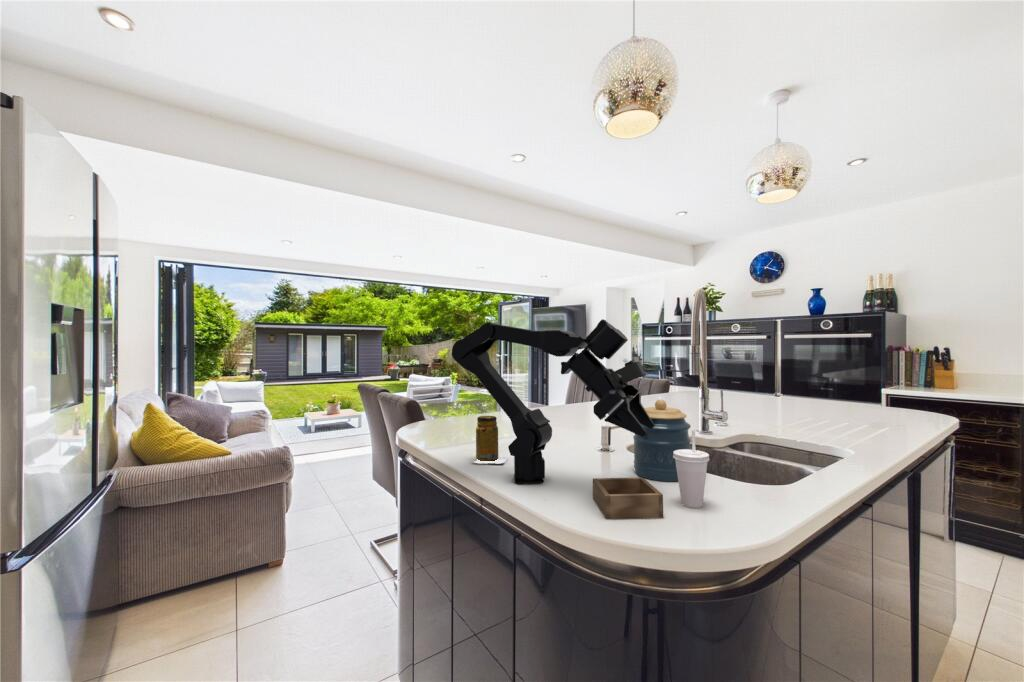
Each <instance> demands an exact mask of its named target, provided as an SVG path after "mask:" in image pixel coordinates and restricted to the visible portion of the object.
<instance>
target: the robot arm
mask: <svg viewBox="0 0 1024 682" xmlns="http://www.w3.org/2000/svg"><path fill="white" fill-rule="evenodd" d="M497 341H502V342H508V343H513V344H518V345H523V346H529V347H534V348H536V349H538V350H540V351H542V352H544V353H546V354H549V355H552V356H553V357H556V358H557V357H559V358H560V357H570V358H569V359H568V360H567V361H561V362H560V365H561V367H560V374H561V375H567V374H570V372H572V373H573V374H574V375H575V376H576V377H577V378H578V379H579V380H580V381H581V382H582V383H583V384H584V385H585V388H584V389H585V390H586V391H587V393H589V392H591V393H592V394H593V395H594V396H595V397H596V398H597V399H598V401H597V402H596V403H595V404H594V405H593V414H594V415H595V417H596V418H598V420H600V421H601V420H603V419H604V420H603V421H604V422H606V423H610V424H612V425H614V426H617V427H619V428H621V429H623V430H626V431H629V432H630V433H633V434H634V435H635V434H637V435H639V436H641V437H644V436H645V435H646V434H647V432H646V431H645V430H644V428H643V427H642V425H644V426H646V427H648V428H650V429H652V428H653V427H654V424H653V422H652V420H651V419H650V417H649V415H648V414H647V412H646V411H645V409H644V408H645V407H644V406H643V404H642V392H641V388H640V387H639V386H638V385H637V384H635V383H629V382H631V381H633V380H636V379H639V378H642V377H645V376H646V375H647V373H646V371H645V369H644V366H643V365H642V363H641V362H640V361H639V360H638V361H634V360H630V361H627V362H624V366H623V367H621V368H619V369H617V370H614V369H613V368H607V367H606V366H605V365H604V364H603V363H602V362H601V361H600V360H604V359H606V360H610V359H612V357H614V355H615V354H616V353H617V352H618V351H619V350H620V349H621V348H622V347H623V346H624V345H625V344H626V343H627V342H628V341H629V340H628V338H627V336H626V335H625V334H624V333H623V332H622V331H621V330H620V329H619V328H616V327H615V326H614V325H612V324H611V323H609V322H608V321H607V320H606V319H601V320H599V322H598V323H597V324H596V326H595V327H594V329H592V331H591V332H590V333H589V334H588V335H587V336H581V335H579V336H577V334H576V332H575V333H574V332H573V331H569V330H562V329H561V330H560V329H557V330H556V329H553V330H552V329H551V330H549V329H548V330H532V329H528V328H527V329H526V328H522V327H515V326H510V325H504V324H503V325H502V324H500V323H497V322H486V323H483V324H482V325H481V326H480V327H479V328H478V329H476V330H474V331H472V332H471V333H469V334H467V335H465V337H463V338H462V339H458V340H456V341H455V342H454V343H453V345H452V349H451V356H452V358H453V360H454V361H455V362H456V363H457V364H458V365H459V366H461V367H462V368H463V369H465V370H466V371H468V372H470V373H472V374H473V375H474V376H475V377H476V378H477V379H478V380H479V382H480V383H481V384H482V385H483V387H484V388H485V389H486V391H487V392H488V393H489V395H490V396H491V397H492V398H493V400H494V401H495V402H496V403H497V405H498V406H499V407H500V408H501V409H502V411H503V412H504V413H505V415H506V416H507V417H508V418H509V420H510V423H511V427H512V431H513V433H514V435H515V436H516V438H515V439H514V440H513V441H512V442H511V443H510V444H508V448H507V449H508V451H509V454H510V456H512V457H513V464H514V465H513V467H514V469H513V470H514V473H513V481H514V484H515V485H519V484H520V485H521V484H522V485H523V484H525V485H526V484H528V485H529V484H544V482H545V481H544V479H545V478H546V461H545V458H544V457H543V453H542V451H543V450H545V449H546V446H547V444H548V443H550V441H551V439H552V436H553V428H552V425H550V423H551V420H550V419H548V418H546V416H545V415H544V414H543V412H542V410H541V409H540V408H536V409H533V410H532V409H530V408H528V407H527V406H526V405H525V403H523V401H522V400H521V399H520V397H518V395H517V394H516V392H515V391H513V389H512V388H511V387H510V385H509V384H508V383H507V382H506V380H505V379H504V378H503V377H502V375H501V374H500V373H499V372H498V370H497V369H496V368H495V367H494V366H493V365H492V363H491V359H490V355H489V352H488V351H490V350H491V348H492V347H494V346H493V345H494V344H495V343H496V342H497ZM579 350H582V351H580V352H578V351H579ZM607 415H608V416H607ZM641 424H642V425H641Z"/></svg>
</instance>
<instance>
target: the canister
mask: <svg viewBox="0 0 1024 682" xmlns="http://www.w3.org/2000/svg"><path fill="white" fill-rule="evenodd" d="M644 409H645V411H646V412H647V414H648V415H649V417H650V419H651V420H652V422H653V424H654V427H653V428H652V429H650V428H648V427H646V426H644V425H642V424H641V425H642V427H643V428H644V430H645V431H646V432H647V434H646V435H645V436H644V437H641V436H639V435H637V434H635V433H634V435H633V436H632V437H633V450H634V451H633V453H634V454H633V457H634V459H633V469H634V472H635V474H637V475H638V476H640V477H643V478H644V479H649V480H653V481H661V482H662V481H663V482H678V476H677V469H676V462H675V458H673V452H674V451H675V450H681V449H690V450H691V443H692V438H690V436H689V430H690V429H691V428H692V427H691V424H690V423H688V421H686V419H685V418H687V416H688V415H687V414H686V413H685V412H682V411H681V410H680V409H679V408H675V407H667V402H666V401H665V400H664V399H656V401H655V402H654V406H647V407H644Z"/></svg>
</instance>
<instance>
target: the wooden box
mask: <svg viewBox="0 0 1024 682" xmlns="http://www.w3.org/2000/svg"><path fill="white" fill-rule="evenodd" d="M592 499H593V501H594V503H595V504H596V506H597V507H598V509H599V511H600V512H601V514H602V515H603V516H604V518H605V520H626V519H627V520H628V519H630V520H631V519H637V520H638V519H664V518H665V517H664V494H663V493H662V492H660V490H659V489H657V488H656V487H655V486H654V485H652V484H651V483H650V482H649V481H648V480H646V478H645V477H642V476H640V477H639V476H638V477H602V478H601V477H599V478H592Z"/></svg>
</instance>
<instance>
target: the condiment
mask: <svg viewBox="0 0 1024 682" xmlns="http://www.w3.org/2000/svg"><path fill="white" fill-rule="evenodd" d="M497 418H498V417H496V416H495V415H480V416H477V418H476V420H477V422H476V425H477V426H476V427H475V436H476V437H475V448H476V449H475V457H476V459H478V460H480V461H495V460H497V459H498V458H499V426H498V422H497ZM476 459H475V460H476Z"/></svg>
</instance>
